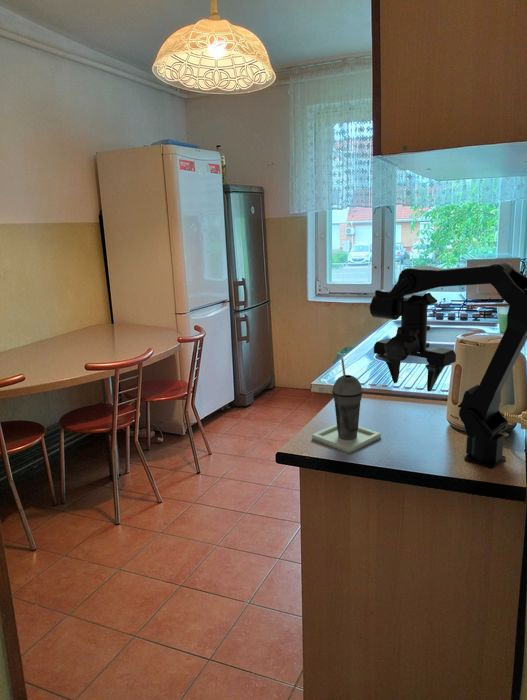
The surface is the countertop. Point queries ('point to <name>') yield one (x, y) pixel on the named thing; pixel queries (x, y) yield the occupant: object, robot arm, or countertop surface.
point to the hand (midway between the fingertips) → (412, 386)
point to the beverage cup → (347, 405)
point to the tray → (348, 446)
